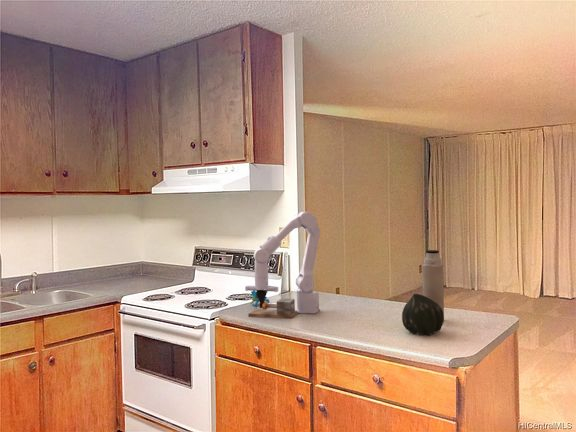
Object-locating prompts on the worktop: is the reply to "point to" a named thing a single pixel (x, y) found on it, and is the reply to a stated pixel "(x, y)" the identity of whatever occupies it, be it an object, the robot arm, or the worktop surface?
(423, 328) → the squash
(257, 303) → the gear
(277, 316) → the bearing stand
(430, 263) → the thermos bottle
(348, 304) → the worktop surface
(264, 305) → the shaft
